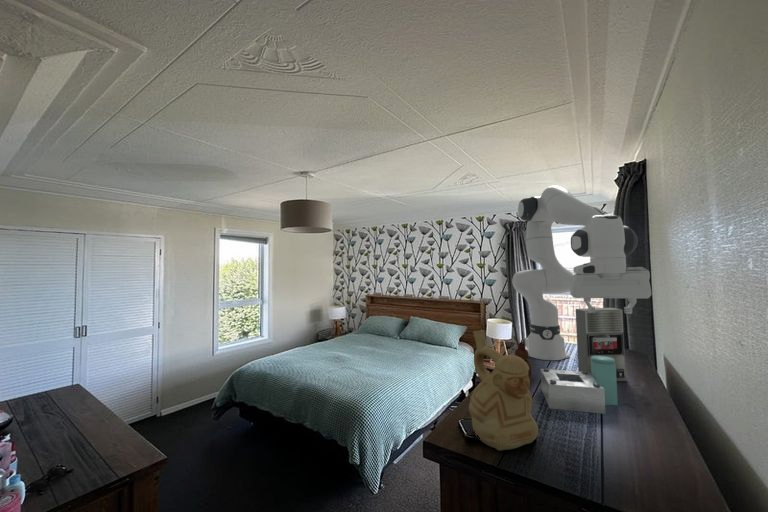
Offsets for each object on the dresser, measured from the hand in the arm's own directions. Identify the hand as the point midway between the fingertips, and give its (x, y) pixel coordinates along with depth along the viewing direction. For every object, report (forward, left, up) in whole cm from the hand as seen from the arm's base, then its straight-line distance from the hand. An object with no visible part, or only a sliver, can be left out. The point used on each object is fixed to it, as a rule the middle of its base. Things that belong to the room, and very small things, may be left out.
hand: (609, 313), depth 96 cm
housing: (+2, -12, -27) cm, 29 cm away
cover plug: (0, -2, -27) cm, 27 cm away
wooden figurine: (-13, -24, -27) cm, 38 cm away
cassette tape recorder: (-20, +3, -27) cm, 34 cm away
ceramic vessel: (+28, -33, -27) cm, 51 cm away
